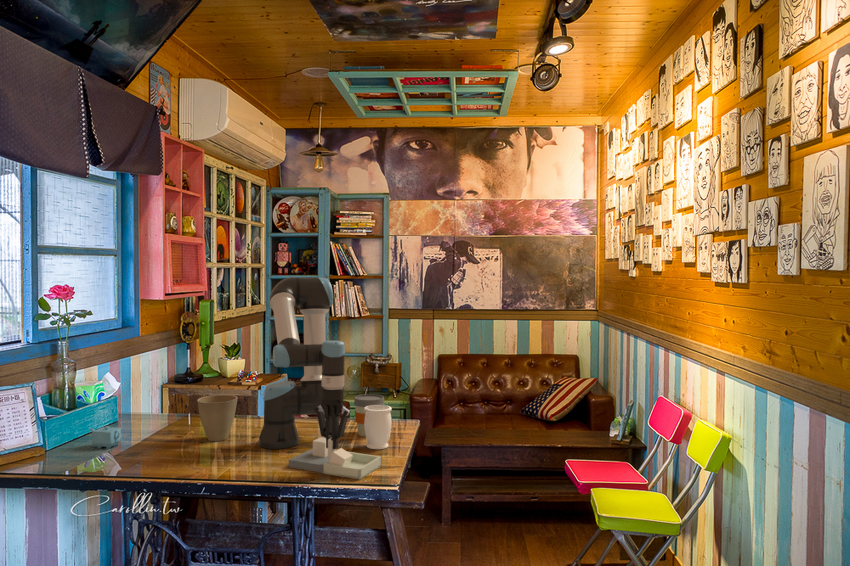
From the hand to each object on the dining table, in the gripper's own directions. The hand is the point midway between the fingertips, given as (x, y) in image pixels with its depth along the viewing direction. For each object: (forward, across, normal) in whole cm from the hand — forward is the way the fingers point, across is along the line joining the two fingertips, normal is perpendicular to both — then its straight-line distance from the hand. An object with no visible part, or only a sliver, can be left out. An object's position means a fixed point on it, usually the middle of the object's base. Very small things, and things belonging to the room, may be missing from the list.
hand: (331, 458), depth 188 cm
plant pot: (+4, -61, +12) cm, 62 cm away
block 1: (+2, -8, +7) cm, 10 cm away
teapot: (+4, -91, -14) cm, 92 cm away
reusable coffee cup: (+4, -11, +46) cm, 47 cm away
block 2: (+3, +2, 0) cm, 4 cm away
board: (+4, -8, +4) cm, 10 cm away
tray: (+4, +6, +4) cm, 8 cm away
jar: (+4, +1, +31) cm, 31 cm away
